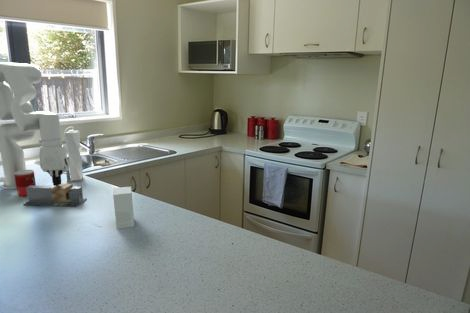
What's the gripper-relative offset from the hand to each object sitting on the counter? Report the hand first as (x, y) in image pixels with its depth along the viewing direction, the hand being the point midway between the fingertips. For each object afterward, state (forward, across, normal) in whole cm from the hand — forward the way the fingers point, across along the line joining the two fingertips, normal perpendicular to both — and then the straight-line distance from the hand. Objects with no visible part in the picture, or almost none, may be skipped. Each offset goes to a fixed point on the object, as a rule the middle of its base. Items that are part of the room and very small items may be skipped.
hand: (57, 184), depth 148 cm
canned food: (+8, -22, +9) cm, 25 cm away
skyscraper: (+8, -11, +33) cm, 36 cm away
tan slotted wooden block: (+6, +2, 0) cm, 6 cm away
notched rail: (+8, -2, 0) cm, 8 cm away
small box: (+8, +38, -19) cm, 43 cm away
